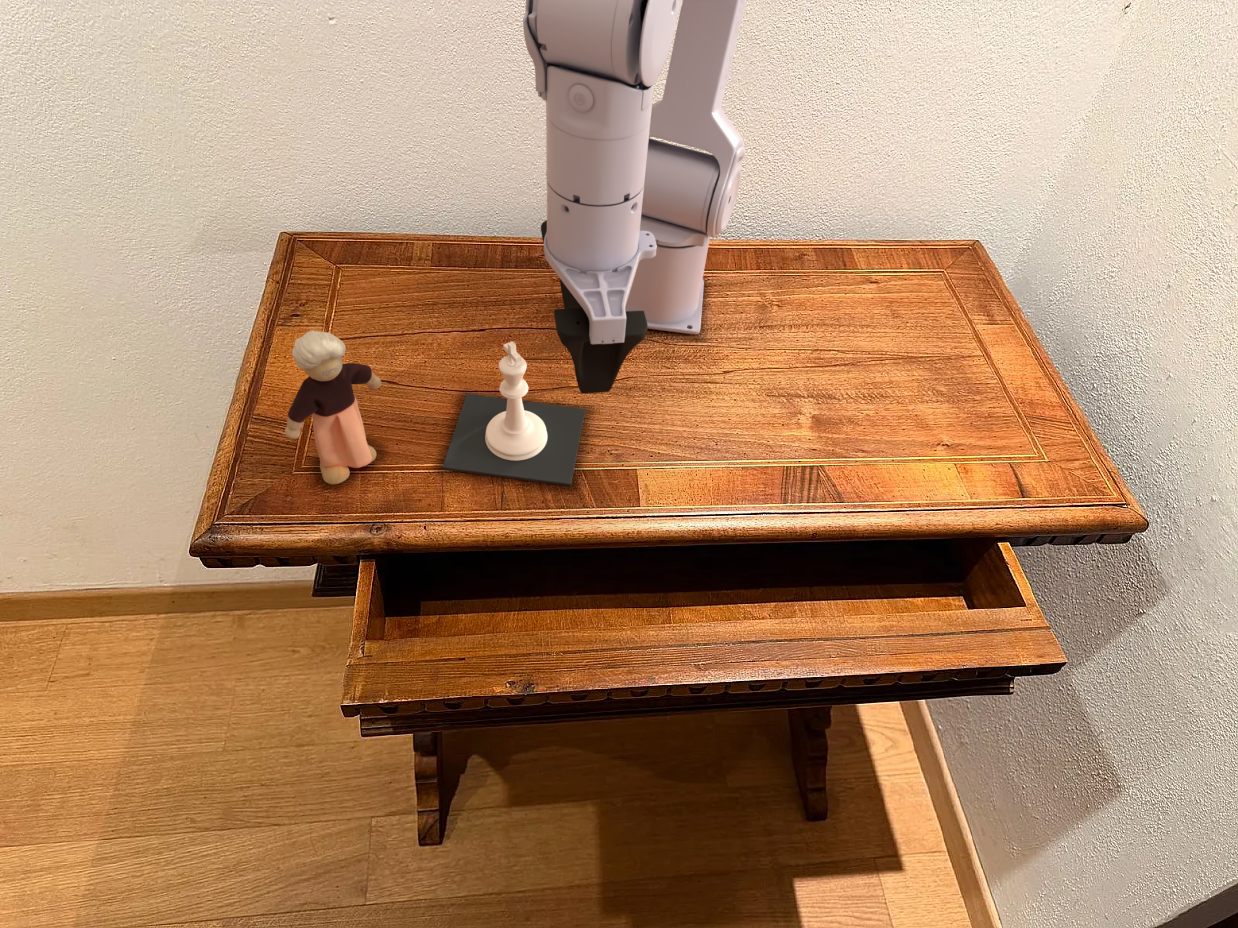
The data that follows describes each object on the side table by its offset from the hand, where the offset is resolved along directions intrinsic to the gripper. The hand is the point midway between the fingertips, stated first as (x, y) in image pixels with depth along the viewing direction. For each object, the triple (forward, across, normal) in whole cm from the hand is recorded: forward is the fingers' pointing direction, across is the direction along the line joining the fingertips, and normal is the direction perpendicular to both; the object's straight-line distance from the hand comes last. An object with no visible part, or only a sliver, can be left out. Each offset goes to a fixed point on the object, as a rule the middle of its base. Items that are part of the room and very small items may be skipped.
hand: (587, 350), depth 57 cm
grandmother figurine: (+10, 0, +18) cm, 20 cm away
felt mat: (+10, 0, +5) cm, 11 cm away
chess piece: (+10, 0, +5) cm, 11 cm away
